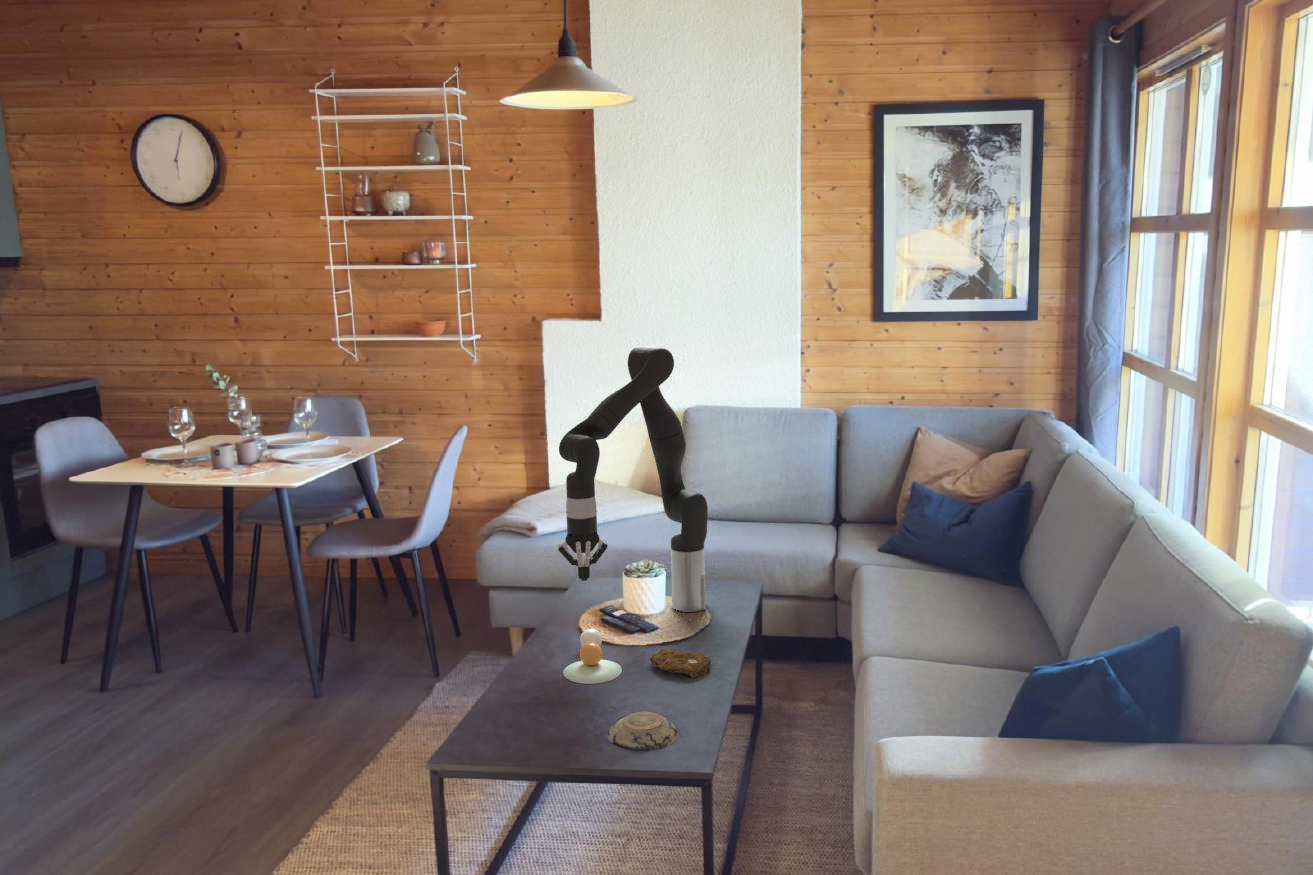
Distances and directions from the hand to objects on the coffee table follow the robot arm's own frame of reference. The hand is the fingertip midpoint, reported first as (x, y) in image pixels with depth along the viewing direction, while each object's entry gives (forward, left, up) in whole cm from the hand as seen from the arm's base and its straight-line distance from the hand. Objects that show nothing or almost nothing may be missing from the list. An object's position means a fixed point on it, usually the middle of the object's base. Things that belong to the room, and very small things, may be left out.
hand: (584, 579), depth 266 cm
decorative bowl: (-16, +50, -18) cm, 56 cm away
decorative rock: (-24, +17, -18) cm, 34 cm away
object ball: (-2, +14, -14) cm, 20 cm away
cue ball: (-2, +5, -14) cm, 15 cm away
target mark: (-3, +18, -17) cm, 25 cm away
